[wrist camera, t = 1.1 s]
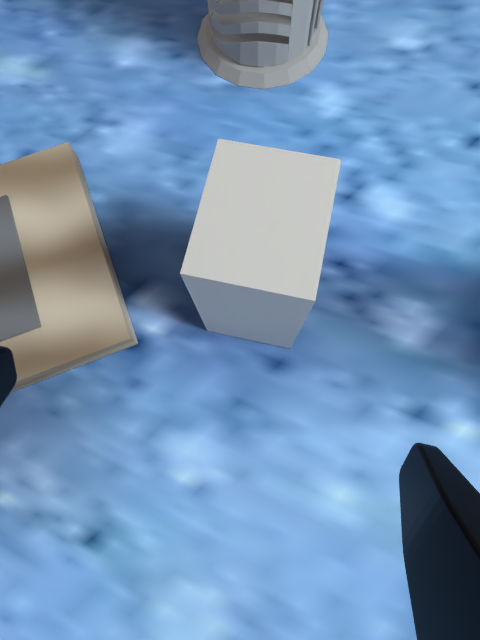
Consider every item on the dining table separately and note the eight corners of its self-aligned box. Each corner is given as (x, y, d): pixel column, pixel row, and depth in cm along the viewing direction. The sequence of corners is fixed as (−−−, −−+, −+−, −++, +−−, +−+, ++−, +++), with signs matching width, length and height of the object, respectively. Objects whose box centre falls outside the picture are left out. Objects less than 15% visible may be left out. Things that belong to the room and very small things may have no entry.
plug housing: (290, 348, 22) (315, 301, 14) (207, 330, 23) (179, 273, 14) (308, 256, 24) (341, 159, 15) (230, 241, 24) (218, 138, 15)
